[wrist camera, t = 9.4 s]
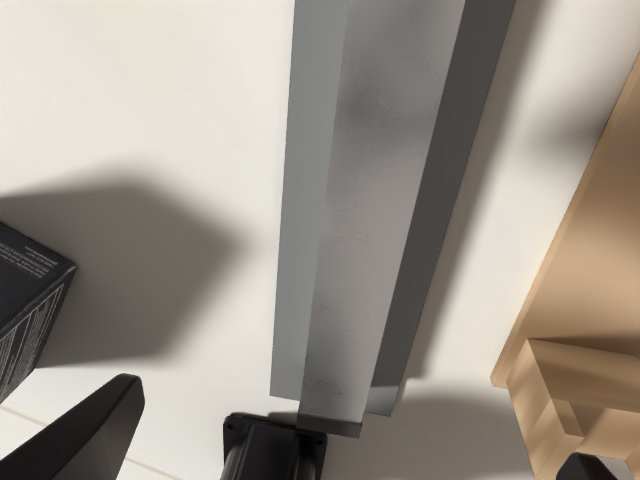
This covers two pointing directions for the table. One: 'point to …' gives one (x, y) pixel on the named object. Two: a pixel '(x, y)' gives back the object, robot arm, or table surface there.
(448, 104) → the mat
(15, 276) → the small box
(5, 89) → the table surface
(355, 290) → the rail
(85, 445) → the robot arm
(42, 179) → the table surface
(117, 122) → the table surface
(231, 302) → the table surface
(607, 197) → the cradle stand
